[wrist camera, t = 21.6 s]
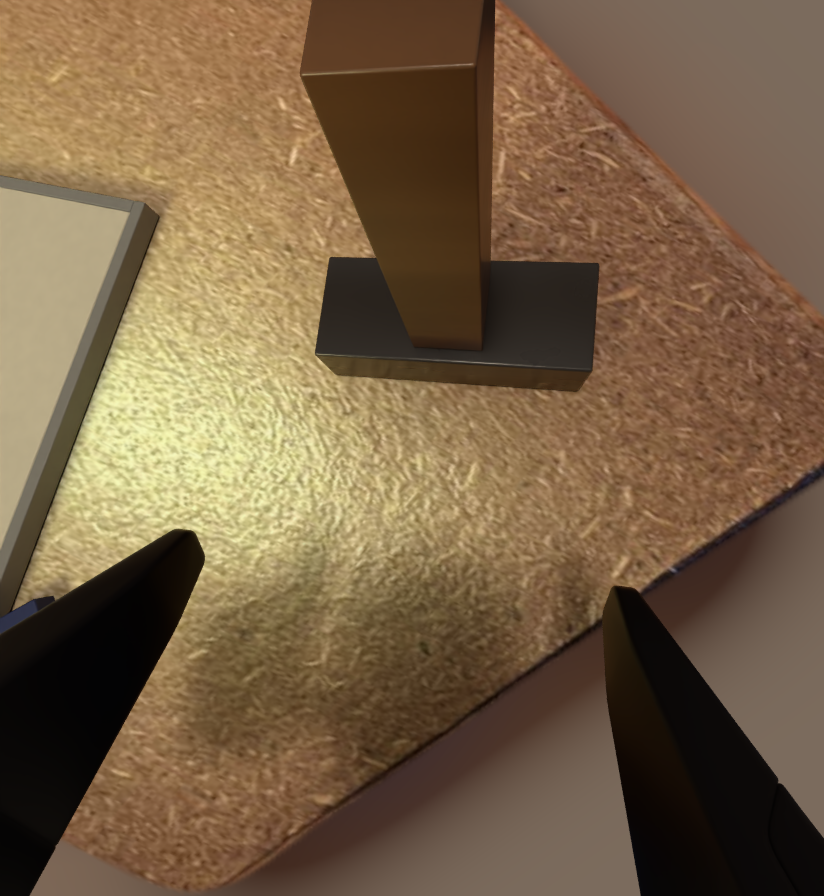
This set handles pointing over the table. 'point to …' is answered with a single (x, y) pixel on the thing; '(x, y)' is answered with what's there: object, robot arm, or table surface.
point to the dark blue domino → (24, 612)
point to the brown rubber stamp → (431, 207)
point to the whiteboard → (54, 339)
